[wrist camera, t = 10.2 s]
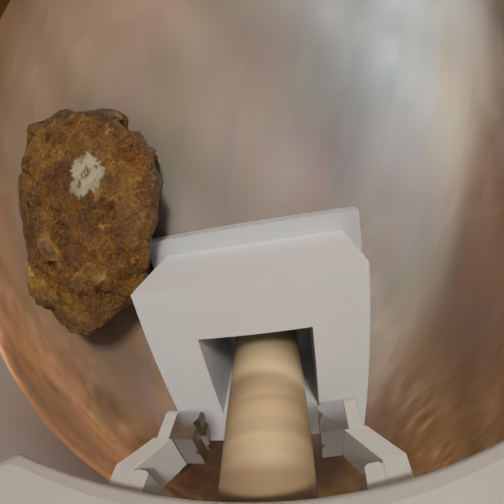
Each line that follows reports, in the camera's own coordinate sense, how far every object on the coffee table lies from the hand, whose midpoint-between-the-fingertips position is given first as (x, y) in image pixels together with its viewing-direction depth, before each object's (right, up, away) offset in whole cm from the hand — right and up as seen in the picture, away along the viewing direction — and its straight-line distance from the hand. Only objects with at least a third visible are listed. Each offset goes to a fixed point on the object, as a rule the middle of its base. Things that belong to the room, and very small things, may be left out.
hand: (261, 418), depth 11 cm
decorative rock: (-11, +9, +8) cm, 16 cm away
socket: (+1, +3, +8) cm, 9 cm away
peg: (+1, +2, +7) cm, 8 cm away
